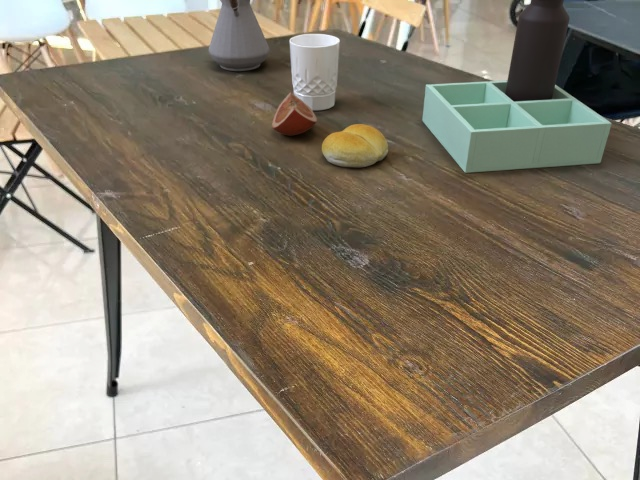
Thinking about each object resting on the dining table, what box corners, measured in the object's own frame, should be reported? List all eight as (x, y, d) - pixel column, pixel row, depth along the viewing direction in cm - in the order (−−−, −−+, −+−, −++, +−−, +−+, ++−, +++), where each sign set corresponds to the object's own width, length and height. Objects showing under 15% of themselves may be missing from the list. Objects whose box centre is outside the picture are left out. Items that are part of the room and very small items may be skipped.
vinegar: (501, 112, 102) (526, -31, 90) (546, 116, 100) (578, -28, 88) (499, 127, 97) (525, -22, 84) (546, 132, 95) (579, -19, 83)
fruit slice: (271, 123, 100) (270, 90, 97) (315, 122, 100) (315, 89, 97) (273, 144, 93) (271, 109, 90) (319, 143, 94) (319, 108, 91)
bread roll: (310, 157, 90) (310, 129, 87) (354, 140, 95) (355, 113, 92) (354, 176, 85) (355, 146, 82) (398, 156, 90) (400, 128, 87)
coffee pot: (211, 57, 128) (203, -28, 119) (269, 56, 129) (266, -29, 120) (204, 92, 111) (195, -4, 102) (271, 90, 112) (267, -5, 103)
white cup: (322, 115, 103) (323, 49, 97) (281, 106, 106) (279, 42, 100) (347, 101, 108) (349, 38, 102) (307, 93, 111) (306, 31, 105)
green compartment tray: (538, 114, 104) (546, 78, 100) (600, 163, 88) (611, 123, 85) (422, 121, 101) (425, 84, 98) (465, 173, 86) (471, 132, 82)
